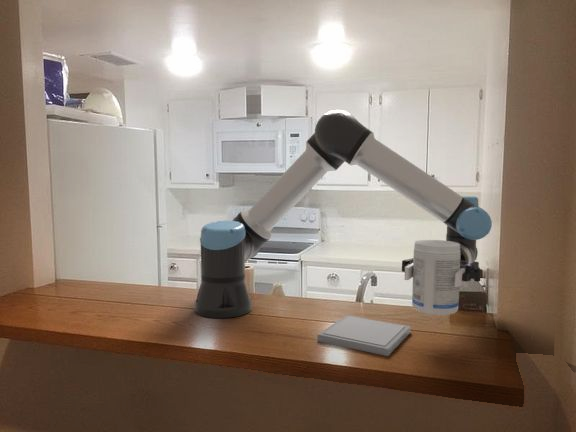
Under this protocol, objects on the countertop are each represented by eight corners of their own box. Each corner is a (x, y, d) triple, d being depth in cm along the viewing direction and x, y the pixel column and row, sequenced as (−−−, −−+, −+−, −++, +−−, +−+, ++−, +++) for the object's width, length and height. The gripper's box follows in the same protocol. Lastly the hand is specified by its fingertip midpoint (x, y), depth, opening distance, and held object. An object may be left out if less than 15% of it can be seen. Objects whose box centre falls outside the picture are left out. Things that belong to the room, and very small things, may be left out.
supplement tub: (460, 307, 99) (464, 241, 98) (454, 319, 91) (458, 247, 90) (416, 301, 104) (419, 237, 103) (406, 311, 96) (409, 243, 94)
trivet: (317, 340, 99) (317, 333, 99) (346, 320, 113) (346, 314, 113) (387, 356, 91) (388, 348, 91) (410, 332, 105) (410, 325, 105)
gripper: (500, 281, 107) (488, 303, 88) (407, 269, 118) (378, 286, 99) (502, 249, 106) (490, 265, 87) (409, 241, 118) (380, 253, 98)
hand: (431, 277), depth 93 cm, fingers closed on supplement tub, 9 cm apart
